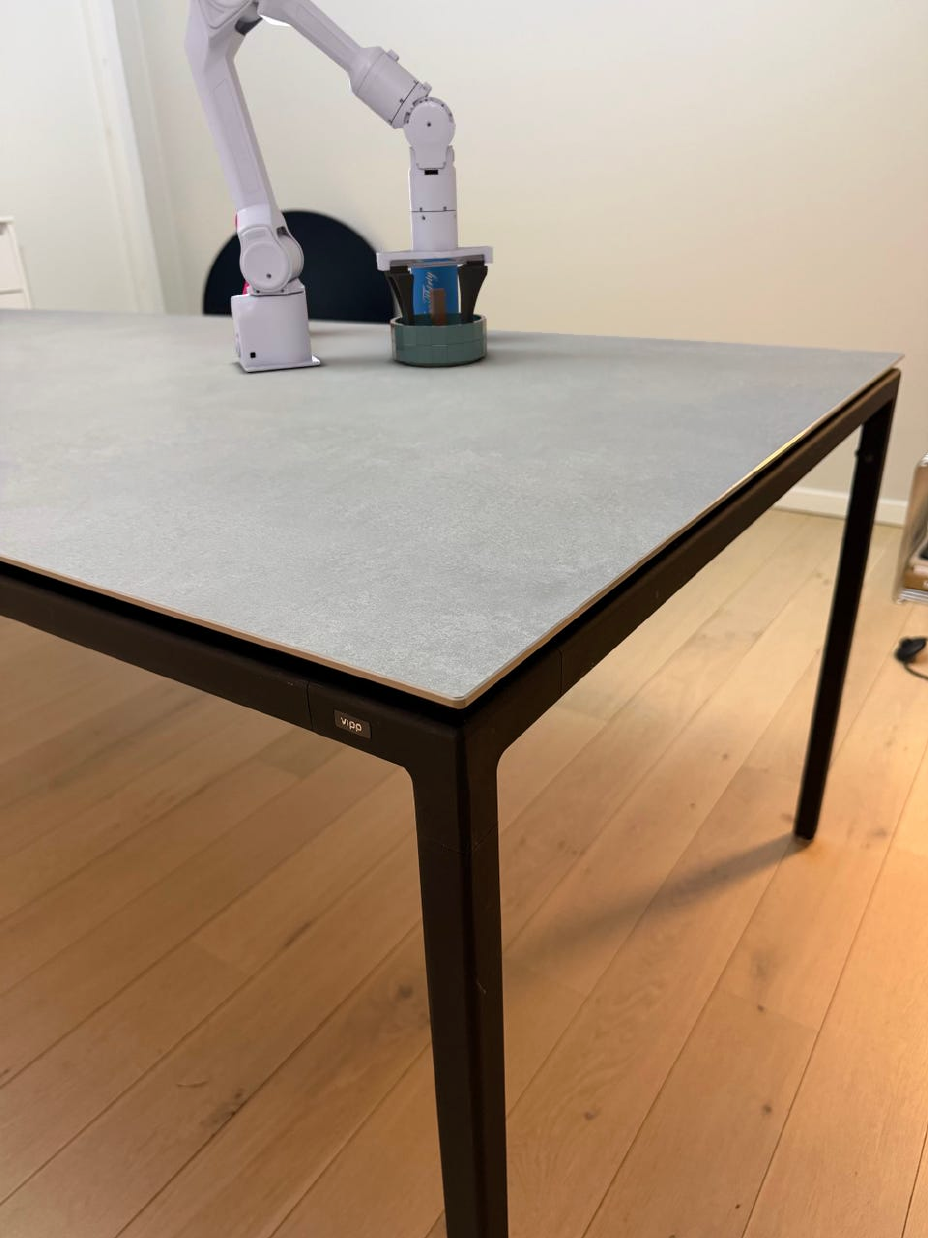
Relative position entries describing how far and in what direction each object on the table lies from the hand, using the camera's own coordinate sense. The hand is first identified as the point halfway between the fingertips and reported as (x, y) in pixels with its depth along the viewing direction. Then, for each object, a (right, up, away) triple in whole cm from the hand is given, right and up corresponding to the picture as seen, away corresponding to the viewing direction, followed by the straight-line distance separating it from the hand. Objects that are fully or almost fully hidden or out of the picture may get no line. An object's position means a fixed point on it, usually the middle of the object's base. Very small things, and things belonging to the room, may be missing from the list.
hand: (438, 326), depth 117 cm
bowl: (0, -4, +2) cm, 4 cm away
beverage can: (-1, +2, +14) cm, 14 cm away
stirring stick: (0, -3, +1) cm, 3 cm away
